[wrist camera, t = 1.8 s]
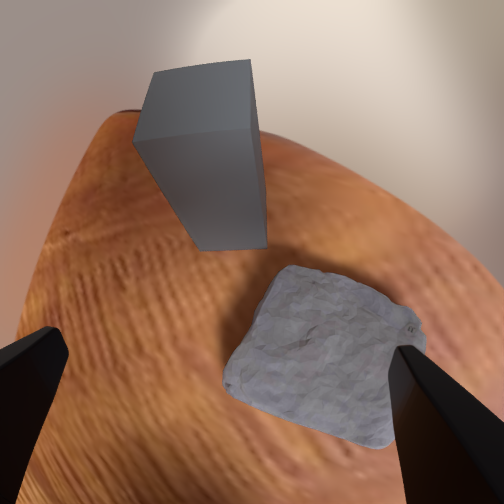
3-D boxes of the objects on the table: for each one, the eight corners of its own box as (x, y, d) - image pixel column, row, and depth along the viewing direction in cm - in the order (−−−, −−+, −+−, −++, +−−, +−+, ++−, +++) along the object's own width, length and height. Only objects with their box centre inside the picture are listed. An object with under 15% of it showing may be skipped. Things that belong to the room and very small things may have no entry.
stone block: (272, 275, 25) (215, 396, 20) (278, 241, 21) (208, 388, 16) (411, 328, 23) (375, 452, 18) (442, 304, 18) (406, 455, 14)
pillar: (267, 248, 24) (250, 128, 12) (199, 251, 24) (132, 142, 12) (265, 190, 25) (250, 59, 14) (204, 193, 26) (153, 72, 14)
